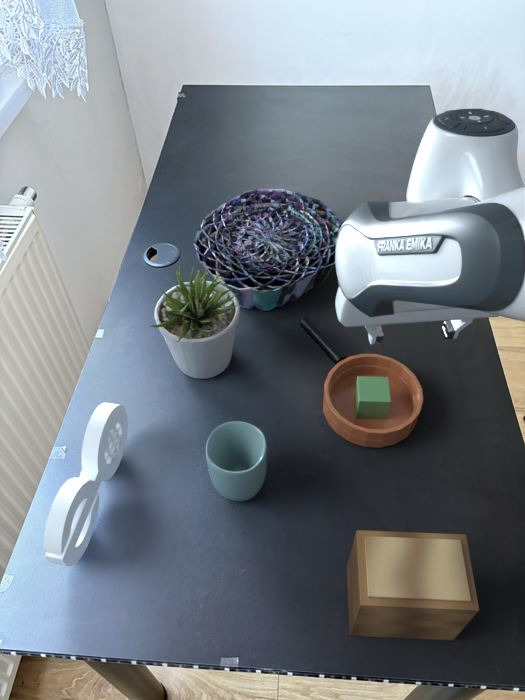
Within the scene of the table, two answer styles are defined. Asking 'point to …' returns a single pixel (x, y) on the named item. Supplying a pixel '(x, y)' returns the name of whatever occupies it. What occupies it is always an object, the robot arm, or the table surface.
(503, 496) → the table surface
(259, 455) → the cup
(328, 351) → the pan handle
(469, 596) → the box
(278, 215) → the decorative bowl
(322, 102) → the table surface
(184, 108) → the table surface
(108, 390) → the table surface
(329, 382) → the pan
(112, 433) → the white lobed panel
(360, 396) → the block
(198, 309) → the potted plant
